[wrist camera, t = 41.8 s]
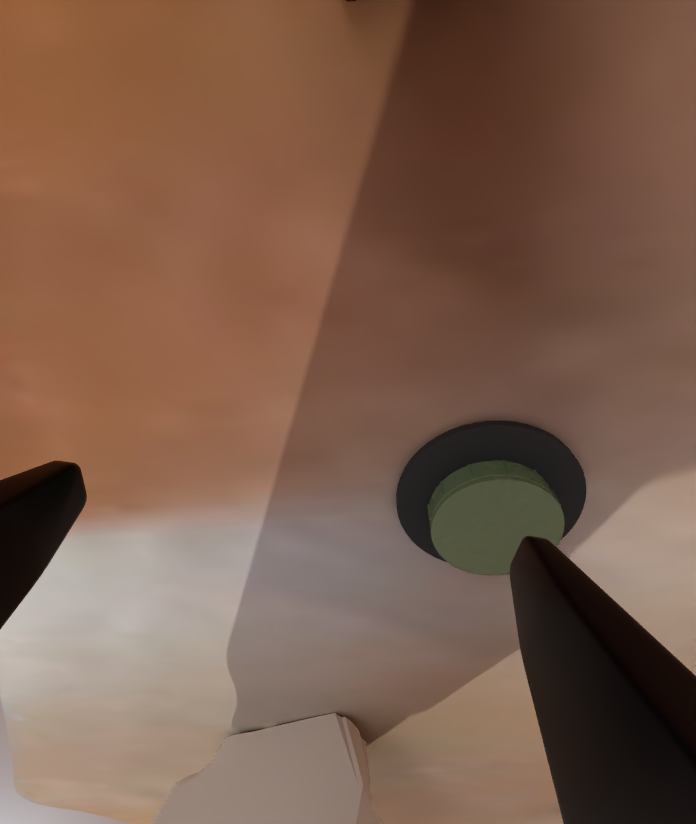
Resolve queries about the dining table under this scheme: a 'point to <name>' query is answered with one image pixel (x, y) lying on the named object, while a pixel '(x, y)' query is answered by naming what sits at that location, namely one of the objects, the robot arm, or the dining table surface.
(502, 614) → the dining table surface
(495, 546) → the lid
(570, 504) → the coaster
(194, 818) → the beige tilted block
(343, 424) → the dining table surface
